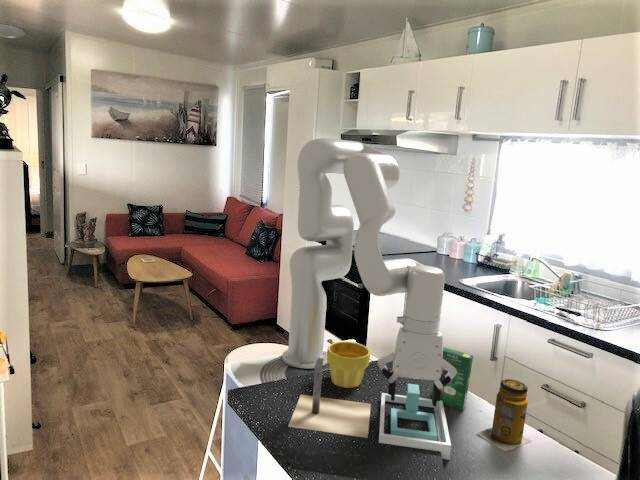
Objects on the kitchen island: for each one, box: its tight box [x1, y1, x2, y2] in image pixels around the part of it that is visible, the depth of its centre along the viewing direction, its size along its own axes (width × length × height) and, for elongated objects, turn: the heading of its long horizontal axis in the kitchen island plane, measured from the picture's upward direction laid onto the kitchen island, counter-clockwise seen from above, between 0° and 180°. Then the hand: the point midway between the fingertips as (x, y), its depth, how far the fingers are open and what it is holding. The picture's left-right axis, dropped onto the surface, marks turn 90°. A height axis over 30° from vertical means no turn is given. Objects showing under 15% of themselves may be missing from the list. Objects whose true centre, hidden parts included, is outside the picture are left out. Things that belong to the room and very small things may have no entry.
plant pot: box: [326, 341, 371, 389], centre depth 122 cm, size 10×10×10 cm
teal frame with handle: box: [390, 383, 438, 441], centre depth 105 cm, size 9×14×6 cm, turn 172°
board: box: [287, 394, 372, 439], centre depth 106 cm, size 14×16×2 cm
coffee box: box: [430, 346, 474, 411], centre depth 117 cm, size 8×3×13 cm, turn 59°
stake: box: [312, 358, 324, 414], centre depth 106 cm, size 5×2×11 cm, turn 172°
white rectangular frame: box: [378, 392, 452, 461], centre depth 105 cm, size 18×14×3 cm
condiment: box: [476, 378, 532, 452], centre depth 104 cm, size 7×8×12 cm
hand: (413, 400), depth 109 cm, fingers open, 8 cm apart
